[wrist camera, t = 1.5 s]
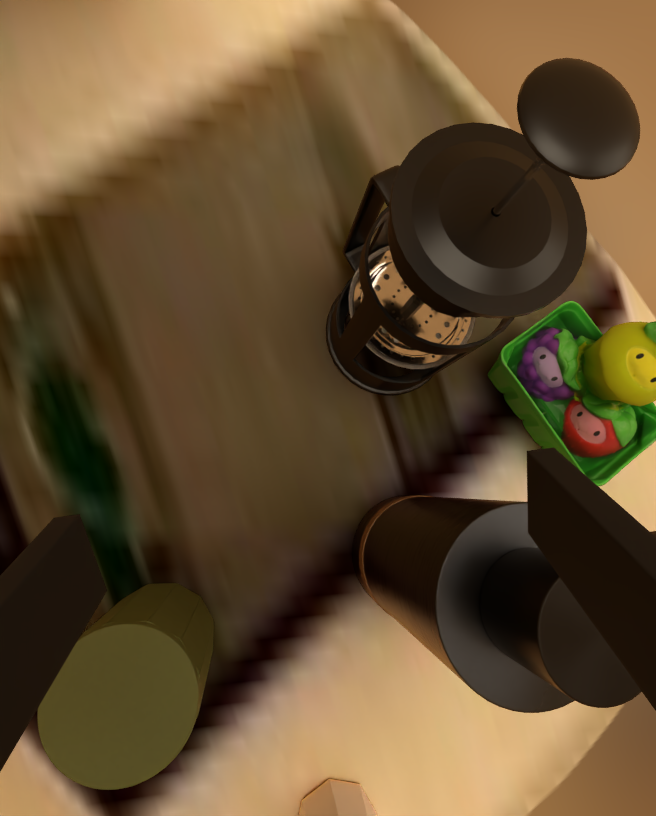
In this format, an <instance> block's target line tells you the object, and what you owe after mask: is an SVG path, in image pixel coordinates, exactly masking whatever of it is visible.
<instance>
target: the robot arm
mask: <svg viewBox="0 0 656 816" xmlns="http://www.w3.org/2000/svg"><path fill="white" fill-rule="evenodd" d="M527 491H528V534H529V535H530V536H531V538H532V539H533V541H534V542H535V543H536V545H537V546H538V548H539V549H540V550H541V552H542V553H543V554H544V556H545V557H546V559H547V560H548V561H549V563H550V564H551V566H552V567H553V568H554V570H555V571H556V573H557V574H558V575H559V577H560V578H561V580H562V581H563V582H564V584H565V585H566V587H567V588H568V589H569V591H570V592H571V593H572V595H573V596H574V598H575V599H576V600H577V602H578V603H579V605H580V606H581V607H582V609H583V610H584V612H585V613H586V614H587V616H588V617H589V619H590V620H591V621H592V623H593V624H594V625H595V627H596V628H597V630H598V631H599V632H600V634H601V635H602V637H603V638H604V639H605V641H606V642H607V644H608V645H609V646H610V648H611V649H612V651H613V652H614V653H615V655H616V656H617V657H618V659H619V660H620V662H621V663H622V664H623V666H624V667H625V669H626V670H627V671H628V673H629V674H630V676H631V677H632V678H633V680H634V681H635V683H636V684H637V685H638V687H639V688H640V689H641V691H642V692H643V694H644V695H645V696H646V698H647V699H648V701H649V702H650V703H651V705H652V706H653V708H654V709H655V710H656V531H653V532H649V531H648V530H647V529H646V528H645V527H644V526H642V525H641V524H640V523H639V522H638V521H637V520H636V519H634V518H633V517H632V516H631V515H630V514H629V513H628V512H627V511H625V510H624V509H623V508H622V507H621V506H620V505H619V504H617V503H616V502H615V501H614V500H613V499H612V498H611V497H610V496H608V495H607V494H606V493H605V492H604V491H603V490H602V489H600V488H599V487H598V486H597V485H596V484H595V483H594V482H593V481H591V480H590V479H589V478H588V477H587V476H586V475H585V474H583V473H582V472H581V471H580V470H579V469H578V468H577V467H576V466H574V465H573V464H572V463H571V462H570V461H569V460H568V459H566V458H565V457H564V456H563V455H562V454H561V453H560V452H559V451H557V450H556V449H555V448H554V447H553V448H546V449H538V450H531V451H527ZM106 591H107V589H106V587H105V584H104V581H103V578H102V576H101V573H100V570H99V567H98V564H97V562H96V559H95V556H94V553H93V550H92V548H91V545H90V542H89V539H88V537H87V534H86V531H85V528H84V525H83V523H82V520H81V517H80V514H78V515H71V516H64V517H57V518H54V519H53V520H52V521H51V522H50V523H49V524H48V525H47V526H46V527H45V528H44V529H43V530H42V531H41V532H40V534H39V535H38V536H37V537H36V538H35V539H34V540H33V541H32V542H31V543H30V544H29V545H28V546H27V548H26V549H25V550H24V551H23V552H22V553H21V554H20V555H19V556H18V557H17V558H16V559H15V560H14V562H13V563H12V564H11V565H10V566H9V567H8V568H7V569H6V570H5V571H4V572H3V573H2V574H1V576H0V771H1V770H2V768H3V766H4V764H5V763H6V761H7V759H8V758H9V756H10V754H11V753H12V751H13V749H14V748H15V746H16V744H17V742H18V741H19V739H20V737H21V736H22V734H23V732H24V731H25V729H26V727H27V725H28V724H29V722H30V720H31V719H32V717H33V715H34V714H35V712H36V710H37V708H38V707H39V705H40V703H41V702H42V700H43V698H44V697H45V695H46V693H47V692H48V690H49V688H50V686H51V685H52V683H53V681H54V680H55V678H56V676H57V675H58V673H59V671H60V669H61V668H62V666H63V664H64V663H65V661H66V659H67V658H68V656H69V654H70V652H71V651H72V649H73V647H74V646H75V644H76V642H77V641H78V639H79V637H80V636H81V634H82V632H83V630H84V629H85V627H86V625H87V624H88V622H89V620H90V619H91V617H92V615H93V613H94V612H95V610H96V608H97V607H98V605H99V603H100V602H101V600H102V598H103V596H104V595H105V593H106Z"/></svg>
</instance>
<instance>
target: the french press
mask: <svg viewBox="0 0 656 816" xmlns="http://www.w3.org/2000/svg"><path fill="white" fill-rule="evenodd" d="M517 112H518V120H519V124H520V127H521V130H522V133H523V135H522V134H519V133H517V132H515V131H513V130H511V129H508V128H505V127H501V126H497V125H493V124H484V123H466V124H457V125H453V126H450V127H446V128H443V129H440V130H438V131H436V132H434V133H433V134H431V135H429V136H427V137H426V138H424V139H423V140H421V141H420V142H419V143H418V144H417V145H416V146H415V147H414V148H413V149H412V150H411V151H410V152H409V154H408V155H407V157H406V158H405V160H404V161H403V163H402V164H401V166H398V165H397V166H394V167H392V168H389V169H387V170H385V171H383V172H381V173H378V174H376V175H374V176H373V177H371V179H370V181H369V184H368V186H367V189H366V191H365V194H364V196H363V199H362V202H361V204H360V207H359V209H358V212H357V215H356V217H355V220H354V222H353V225H352V227H351V230H350V233H349V235H348V238H347V240H346V243H345V246H344V248H343V254H344V255H345V257H346V259H347V260H348V262H349V264H350V265H351V267H352V269H353V270H354V272H355V275H354V276H353V277H352V278H351V279H350V280H349V281H348V283H347V284H346V286H345V287H344V289H343V290H342V292H341V293H340V294H339V295H338V297H337V299H336V300H335V302H334V303H333V305H332V307H331V310H330V312H329V315H328V318H327V324H326V341H327V345H328V349H329V352H330V355H331V357H332V359H333V361H334V363H335V365H336V366H337V367H338V369H339V370H340V372H341V373H342V374H343V375H344V376H345V377H346V378H347V379H348V380H349V381H350V382H352V383H354V384H355V385H357V386H358V387H360V388H361V389H364V390H366V391H369V392H371V393H376V394H381V395H399V394H404V393H408V392H410V391H413V390H415V389H417V388H419V387H421V386H422V385H423V384H425V383H426V382H427V381H429V380H430V379H431V378H432V376H433V375H434V374H436V373H438V372H439V371H441V370H443V369H444V368H446V367H447V366H449V365H451V364H452V363H454V362H456V361H457V360H459V359H460V358H462V357H464V356H465V355H467V354H469V353H470V352H472V351H473V350H475V349H477V348H478V347H480V346H482V345H483V344H485V343H486V342H488V341H490V340H491V339H493V338H494V337H496V336H497V335H498V334H500V333H501V332H502V331H504V330H505V329H506V328H507V326H508V325H509V324H510V323H511V322H512V321H513V320H514V318H515V317H518V316H523V315H527V314H529V313H532V312H534V311H536V310H539V309H541V308H543V307H545V306H546V305H548V304H549V303H551V302H552V301H553V300H555V299H556V298H557V297H559V296H560V295H561V294H562V293H563V292H564V291H565V290H566V289H567V287H568V286H569V285H570V284H571V283H572V282H573V280H574V278H575V276H576V274H577V272H578V270H579V269H580V267H581V264H582V260H583V257H584V253H585V249H586V237H587V227H586V220H585V212H584V209H583V206H582V203H581V199H580V197H579V194H578V192H577V190H576V188H575V186H574V184H573V182H572V180H571V178H570V177H569V176H571V177H575V178H579V179H590V180H593V179H600V178H606V177H608V176H611V175H614V174H616V173H617V172H619V171H620V170H622V169H623V168H624V167H625V166H626V165H627V164H628V163H629V162H630V161H631V159H632V157H633V155H634V153H635V151H636V149H637V146H638V143H639V139H640V123H639V117H638V113H637V110H636V108H635V104H634V103H633V101H632V99H631V97H630V95H629V94H628V92H627V91H626V90H625V88H624V87H623V86H622V84H621V83H620V82H619V81H618V80H616V79H615V78H614V77H613V76H612V75H611V74H609V73H608V72H607V71H605V70H604V69H602V68H601V67H598V66H596V65H594V64H592V63H590V62H587V61H583V60H580V59H572V58H563V59H555V60H552V61H548V62H546V63H544V64H542V65H541V66H539V67H537V68H536V69H534V70H533V71H532V72H531V73H530V74H529V75H528V76H527V77H526V79H525V81H524V82H523V84H522V86H521V89H520V92H519V95H518V103H517ZM384 202H386V204H387V206H388V207H387V208H386V209H385V210H384V211H382V212H381V214H380V215H379V212H380V210H381V208H382V206H383V204H384ZM378 215H379V217H378ZM377 217H378V218H377ZM376 219H377V220H376ZM379 226H380V227H379ZM378 227H379V229H378V231H377V233H376V235H375V237H374V239H373V241H372V243H371V245H370V241H371V238H372V235H373V234H374V232H375V231H376V229H377V228H378ZM348 311H350V315H351V320H350V322H349V323H348V325H347V327H346V328H345V330H344V323H345V318H346V316H347V313H348ZM480 316H481V317H486V318H503V319H502V321H501V322H500V324H499V326H498V327H497V328H496V329H495V330H494V331H493V332H492V333H491V335H489V336H488V337H486V338H485V339H482V340H480V341H478V342H474V343H469V344H466V343H467V341H468V340H469V338H470V336H471V334H472V330H473V327H474V324H475V317H480ZM364 346H366V347H367V348H368V349H369V350H370V351H371V352H372V353H374V354H375V355H376V356H378V357H380V358H381V359H383V360H385V361H386V362H389V363H391V364H394V365H396V366H399V367H404V368H409V369H415V370H414V371H413V372H411V373H408V374H406V375H403V376H398V377H384V376H379V375H376V374H374V373H372V372H370V371H369V370H367V369H365V368H364V367H363V366H362V365H361V364H360V363H358V362H357V361H356V360H355V358H356V356H357V355H358V354H359V353H360V351H361V350H362V349H363V348H364Z"/></svg>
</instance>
